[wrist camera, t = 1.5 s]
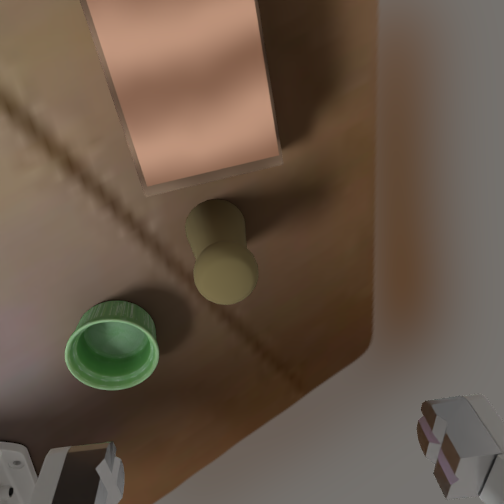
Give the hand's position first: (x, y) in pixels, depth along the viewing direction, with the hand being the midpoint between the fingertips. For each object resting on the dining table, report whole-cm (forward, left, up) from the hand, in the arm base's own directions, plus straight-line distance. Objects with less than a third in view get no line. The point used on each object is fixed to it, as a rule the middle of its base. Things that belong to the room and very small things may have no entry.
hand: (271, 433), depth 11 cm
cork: (-7, 0, -31) cm, 32 cm away
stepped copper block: (+7, -1, -30) cm, 31 cm away
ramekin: (-16, +13, -31) cm, 37 cm away
